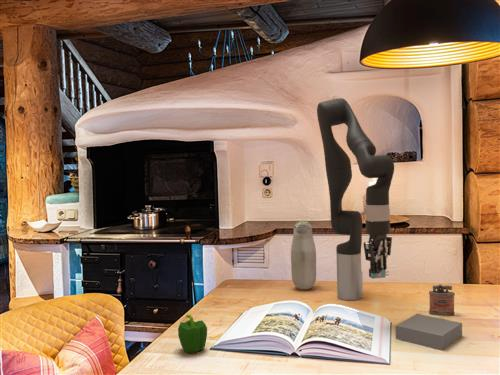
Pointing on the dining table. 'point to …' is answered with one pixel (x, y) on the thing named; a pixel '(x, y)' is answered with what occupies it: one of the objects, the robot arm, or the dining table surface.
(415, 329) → the slate stand
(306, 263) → the grey bottle
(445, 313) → the lighter
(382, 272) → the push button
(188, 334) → the bell pepper
